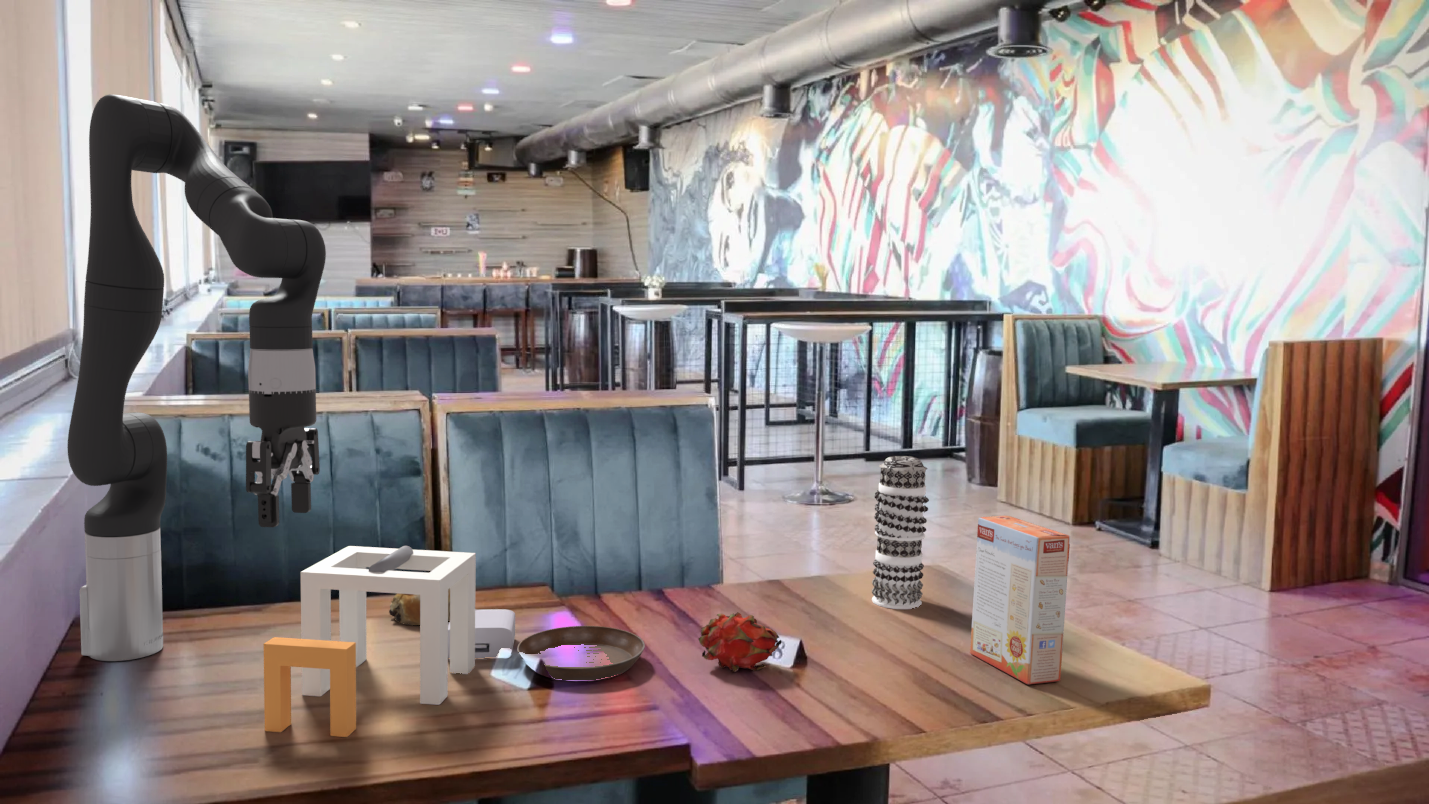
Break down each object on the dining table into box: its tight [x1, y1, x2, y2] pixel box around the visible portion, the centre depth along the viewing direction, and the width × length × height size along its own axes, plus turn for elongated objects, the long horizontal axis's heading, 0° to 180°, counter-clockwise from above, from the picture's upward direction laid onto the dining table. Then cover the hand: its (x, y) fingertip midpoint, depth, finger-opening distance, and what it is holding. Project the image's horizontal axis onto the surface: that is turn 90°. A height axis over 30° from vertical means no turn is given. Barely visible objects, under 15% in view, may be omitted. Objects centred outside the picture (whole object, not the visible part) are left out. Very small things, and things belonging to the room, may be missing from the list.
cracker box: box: [969, 515, 1071, 685], centre depth 158 cm, size 14×6×21 cm, turn 21°
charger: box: [448, 608, 516, 658], centre depth 163 cm, size 5×9×15 cm
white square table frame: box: [300, 545, 477, 706], centre depth 146 cm, size 18×14×17 cm
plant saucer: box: [516, 625, 646, 680], centre depth 155 cm, size 18×18×3 cm
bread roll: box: [388, 588, 450, 626], centre depth 174 cm, size 10×10×8 cm
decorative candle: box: [871, 455, 930, 610], centre depth 189 cm, size 9×9×25 cm
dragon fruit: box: [698, 612, 782, 673], centre depth 156 cm, size 8×8×12 cm
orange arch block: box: [263, 636, 357, 738], centre depth 130 cm, size 10×2×10 cm, turn 84°
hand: (285, 519), depth 135 cm, fingers open, 8 cm apart
